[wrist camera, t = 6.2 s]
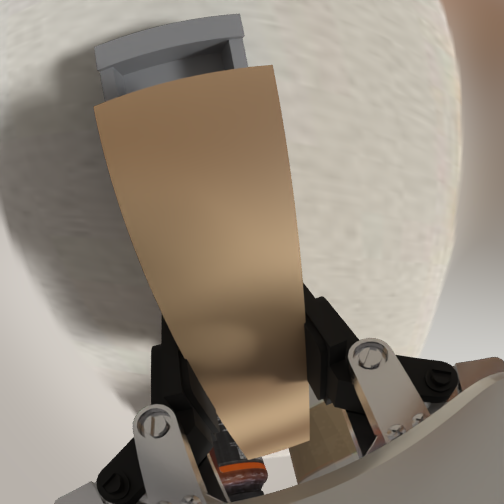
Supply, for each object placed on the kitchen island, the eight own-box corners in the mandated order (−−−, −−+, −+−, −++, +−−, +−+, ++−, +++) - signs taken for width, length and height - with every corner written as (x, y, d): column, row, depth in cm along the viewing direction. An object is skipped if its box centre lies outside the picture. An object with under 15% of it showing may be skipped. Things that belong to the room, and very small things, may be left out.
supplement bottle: (192, 426, 25) (211, 516, 15) (181, 399, 22) (201, 509, 12) (245, 417, 26) (275, 505, 16) (243, 389, 23) (280, 495, 14)
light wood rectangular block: (134, 117, 8) (93, 106, 4) (228, 94, 9) (272, 65, 4) (229, 393, 16) (248, 459, 11) (280, 377, 16) (309, 440, 12)
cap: (111, 63, 10) (94, 47, 7) (226, 36, 11) (239, 13, 8) (145, 208, 14) (138, 230, 11) (253, 179, 15) (272, 194, 12)
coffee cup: (269, 429, 29) (308, 527, 16) (250, 387, 23) (304, 529, 10) (349, 396, 30) (402, 482, 17) (357, 345, 25) (439, 458, 12)
